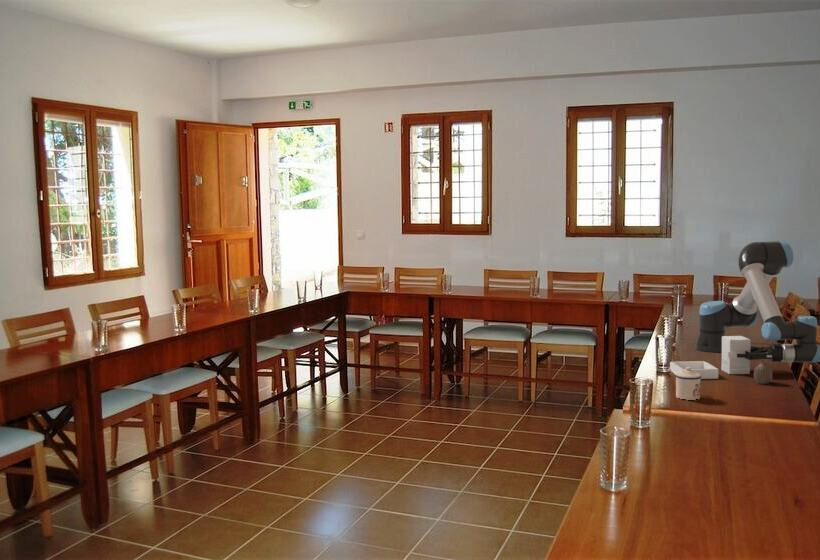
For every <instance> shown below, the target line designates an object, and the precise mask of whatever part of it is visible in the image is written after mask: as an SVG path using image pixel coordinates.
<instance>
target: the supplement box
mask: <svg viewBox="0 0 820 560" xmlns="http://www.w3.org/2000/svg"><path fill="white" fill-rule="evenodd" d="M751 342H752V340H751V339H749V338H748V337H745V336H743V335H725V336H722V352H721V365H720V366H721V368H720V369H721V371H722V372H724V373H726V374H728V375H750V374H751V372H750V371H751V360H748V359H742V358H728V352H745V351H748V352H750V347H751Z"/></svg>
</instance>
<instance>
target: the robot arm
mask: <svg viewBox="0 0 820 560" xmlns="http://www.w3.org/2000/svg"><path fill="white" fill-rule="evenodd" d="M737 262H738V269H739V272H740V274H741V275H742V276H744V277H745V279H746V283H745V285H744V287H743V288H742V290H741V292H740V294H739V295H737V296H735V297H734V298H733V300H732V301H731V302H730V303H726V302H725V301H723V300H712V301H706V302H703V303H701V304H700V306H699V312H698V313H699V327H698V328H699V330H698V331H699V334H698V336H697V339H696V341H695V347H694V348H695V350H697V351H701V352H707V353H708V352H709V353H722V336H726V329H727V328H747V327H752V326H754V325H755V324H756V323H757V322H758V320H759V314H760V316H761V319H762V321H763V324H762V325H761V328H760V330H761V336H762V337H763V339H764V340H766V341H775V342H776V341H778V342H779V341H786V340H787V341H789V340H794V341H796V343H795V344H794V343H782V344H779V343H771V344H770V346H769V348H766V347H764V346H753V345H752V346H751V347H750V352H748V351H745V352H728V358H742V359H748V360H750V361H753V360H769V361H771V362H772V363H781V362H783V363H787V364H790V363H808V364H811V363H820V344H818V343H817V336H818V335H817V334H818V319H817V317H815V316H813V315H798V316H797V318H796V321H795V320H794V321H785V320H784V317H783V314H782V313H781V312H782V311H781V310H780V308H779V305H778V303H777V301H776V298H775V296H774V294H773V291H772V289H771V287H770V283H771V281H772V280H773V278H774V276H777V275H779V274H780V273H781V271H782V269H784V268H789V267H790V266H792V264H793V262H794V251H793V247H792V246H791V245H790V243H789V242H787V241H782V240H781V241H780V240H777V241H755V242H750V243H748V244H747V245H746V246H743V248H742V250H741V251H740V253H739V255H738V261H737Z"/></svg>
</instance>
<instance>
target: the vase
mask: <svg viewBox="0 0 820 560" xmlns="http://www.w3.org/2000/svg"><path fill="white" fill-rule="evenodd" d="M753 378H754V381H755V382H756V383H757V384H759V385H767V384H770V383H771V381H772V380H773V369H772V368H771V366H770V365H769V364H768V361H765V360H760V361H759V363H758V364H757V365H756V366H755V367H754V369H753Z"/></svg>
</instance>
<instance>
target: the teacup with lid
mask: <svg viewBox="0 0 820 560" xmlns="http://www.w3.org/2000/svg"><path fill="white" fill-rule="evenodd" d="M701 380H702V379H701V375H700V374H699V373H697V372H695V371H693V370H691V368H690V367H686V370H683V371H681V372H677V373H676V375H675V398H676V399H678V398H680V399H679V400H681V399H686V400H685V401H688V400H694V401H697V400H696V399H698V400H700V399H701Z"/></svg>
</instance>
